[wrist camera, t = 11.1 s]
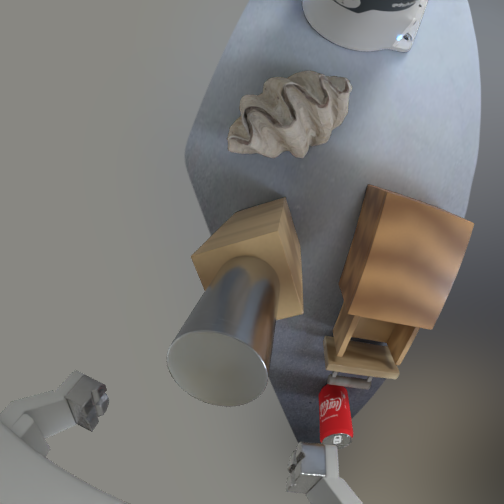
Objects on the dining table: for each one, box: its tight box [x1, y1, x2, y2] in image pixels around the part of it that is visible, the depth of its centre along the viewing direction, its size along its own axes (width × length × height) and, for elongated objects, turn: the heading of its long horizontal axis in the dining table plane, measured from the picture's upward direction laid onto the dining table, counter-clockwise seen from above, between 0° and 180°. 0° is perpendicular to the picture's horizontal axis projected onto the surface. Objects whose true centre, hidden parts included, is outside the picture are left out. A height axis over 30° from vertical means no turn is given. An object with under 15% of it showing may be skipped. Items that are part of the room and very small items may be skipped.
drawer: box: [323, 302, 420, 389], centre depth 38 cm, size 18×11×7 cm, turn 169°
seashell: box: [227, 71, 352, 158], centre depth 29 cm, size 10×15×10 cm
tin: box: [167, 255, 280, 407], centre depth 18 cm, size 5×5×10 cm
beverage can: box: [319, 384, 353, 449], centre depth 41 cm, size 5×5×12 cm
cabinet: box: [339, 184, 474, 329], centre depth 33 cm, size 15×13×9 cm
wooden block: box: [191, 197, 303, 320], centre depth 31 cm, size 7×7×18 cm
